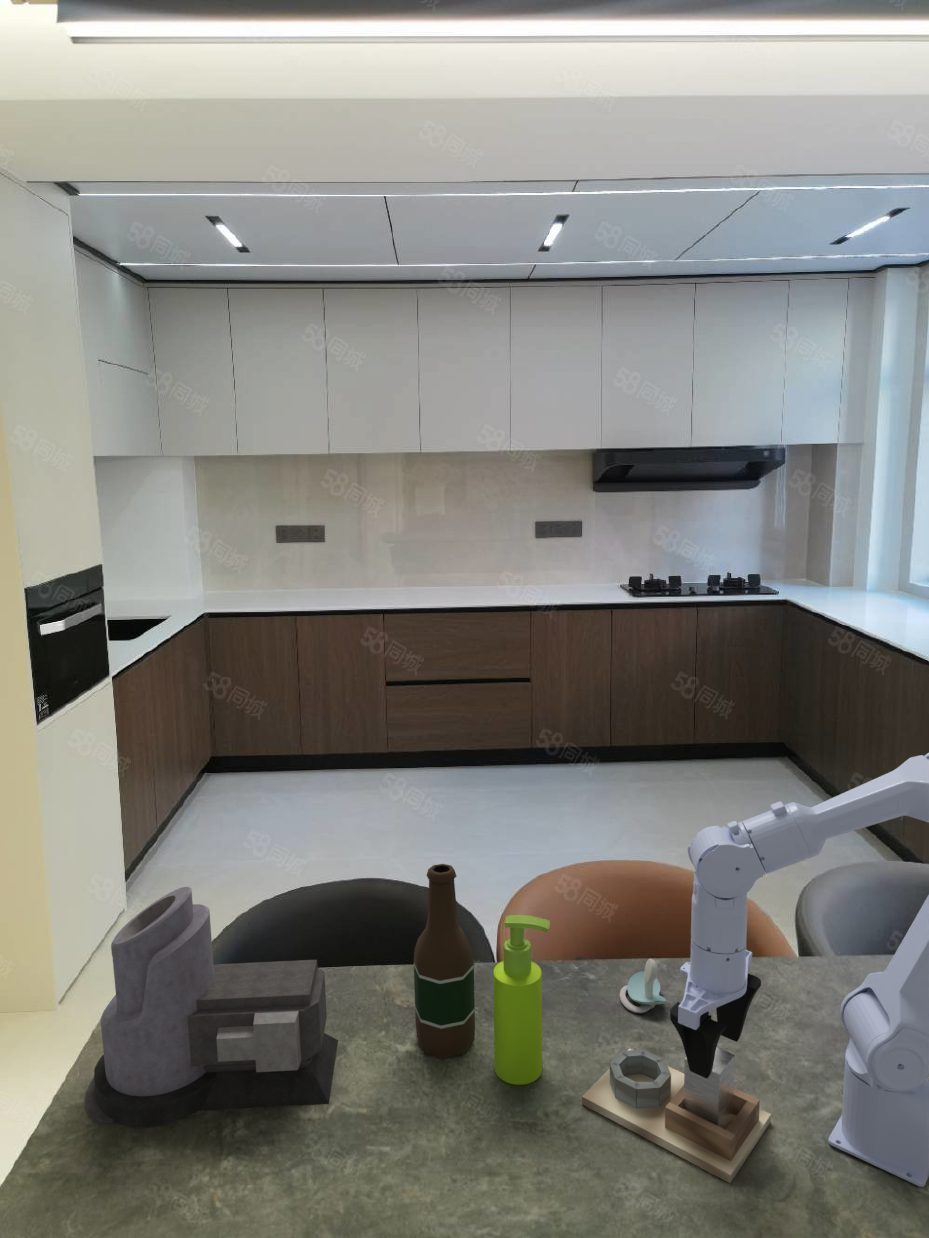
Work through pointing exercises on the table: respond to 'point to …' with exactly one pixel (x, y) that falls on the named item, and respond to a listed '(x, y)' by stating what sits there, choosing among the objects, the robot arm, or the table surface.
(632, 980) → the pacifier
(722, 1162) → the socket board
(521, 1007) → the soap dispenser
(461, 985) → the beer bottle
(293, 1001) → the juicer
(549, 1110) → the table surface
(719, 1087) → the square peg
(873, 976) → the robot arm
